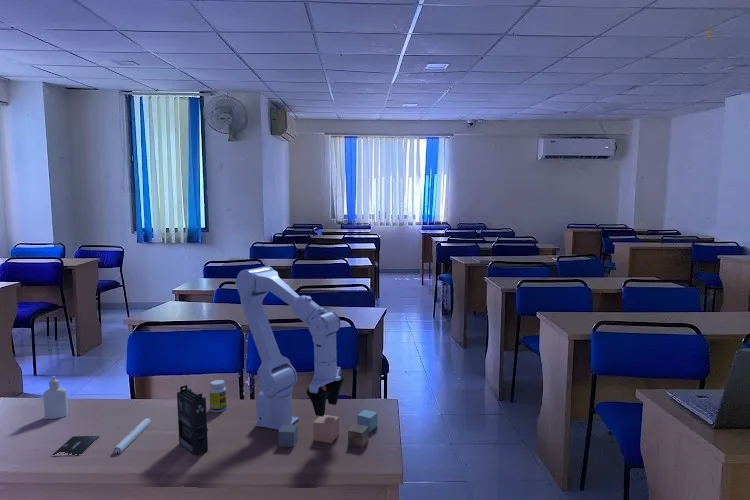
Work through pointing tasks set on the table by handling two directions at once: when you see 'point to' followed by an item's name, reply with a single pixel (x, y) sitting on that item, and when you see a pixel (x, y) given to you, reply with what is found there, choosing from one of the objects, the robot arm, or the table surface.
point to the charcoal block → (288, 435)
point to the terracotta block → (326, 428)
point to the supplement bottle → (218, 396)
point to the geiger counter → (192, 421)
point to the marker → (131, 436)
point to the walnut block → (358, 435)
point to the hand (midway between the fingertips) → (326, 409)
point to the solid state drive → (77, 444)
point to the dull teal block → (367, 419)
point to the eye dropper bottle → (55, 400)
